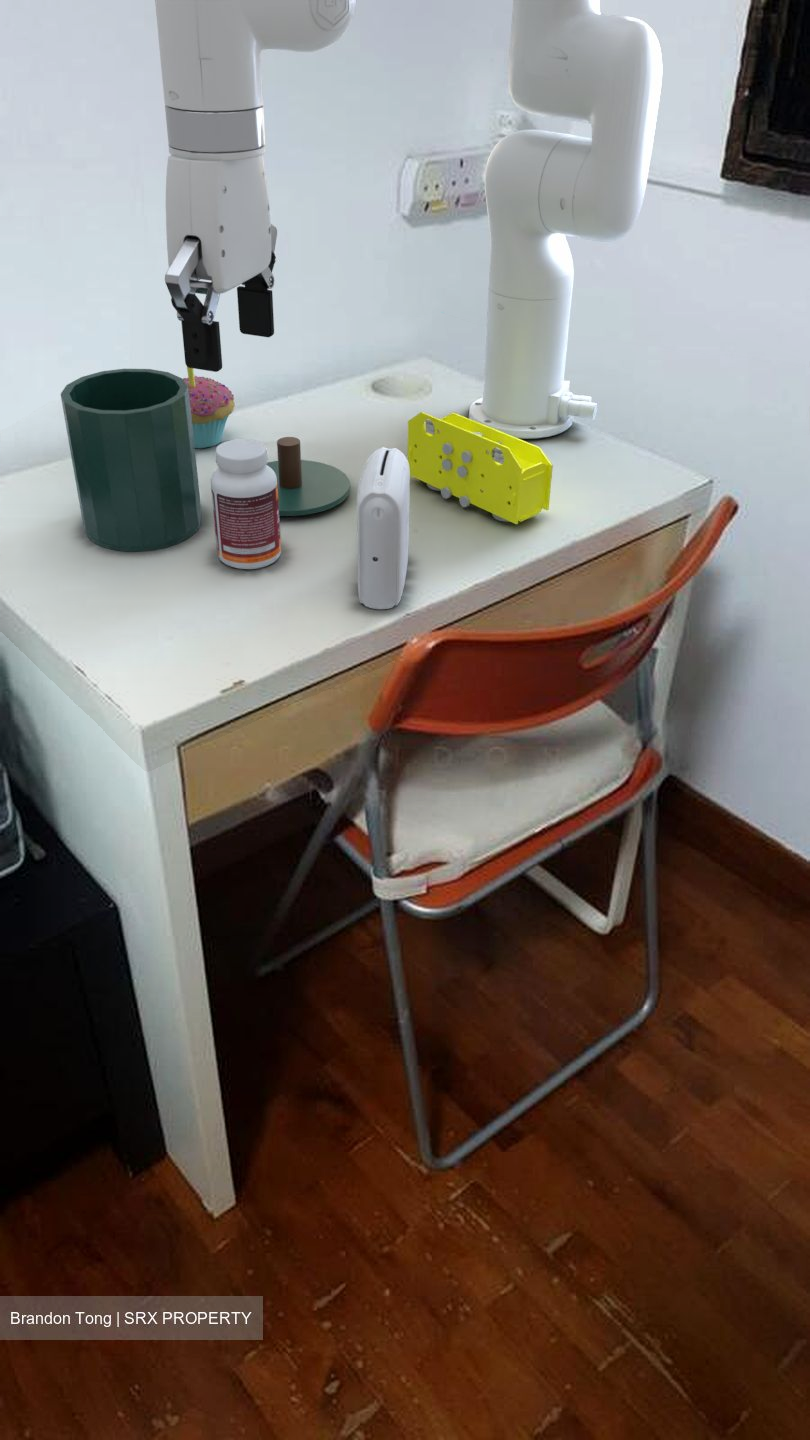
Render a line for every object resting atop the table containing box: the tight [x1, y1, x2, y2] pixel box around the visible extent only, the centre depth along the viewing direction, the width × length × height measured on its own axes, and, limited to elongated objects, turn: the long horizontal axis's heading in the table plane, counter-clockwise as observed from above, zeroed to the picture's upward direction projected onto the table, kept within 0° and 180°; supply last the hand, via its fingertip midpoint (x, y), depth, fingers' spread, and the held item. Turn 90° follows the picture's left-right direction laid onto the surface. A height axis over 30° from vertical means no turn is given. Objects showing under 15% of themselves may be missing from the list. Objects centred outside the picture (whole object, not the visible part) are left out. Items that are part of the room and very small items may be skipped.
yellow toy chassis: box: [407, 411, 554, 525], centre depth 119 cm, size 16×6×8 cm, turn 43°
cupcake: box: [182, 366, 236, 449], centre depth 130 cm, size 9×8×12 cm
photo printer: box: [356, 446, 411, 610], centre depth 103 cm, size 10×4×12 cm, turn 175°
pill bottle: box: [210, 438, 282, 570], centre depth 108 cm, size 6×6×11 cm
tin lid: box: [266, 436, 351, 517], centre depth 120 cm, size 13×13×6 cm
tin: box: [60, 368, 203, 552], centre depth 112 cm, size 12×12×14 cm
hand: (231, 351), depth 99 cm, fingers open, 9 cm apart
